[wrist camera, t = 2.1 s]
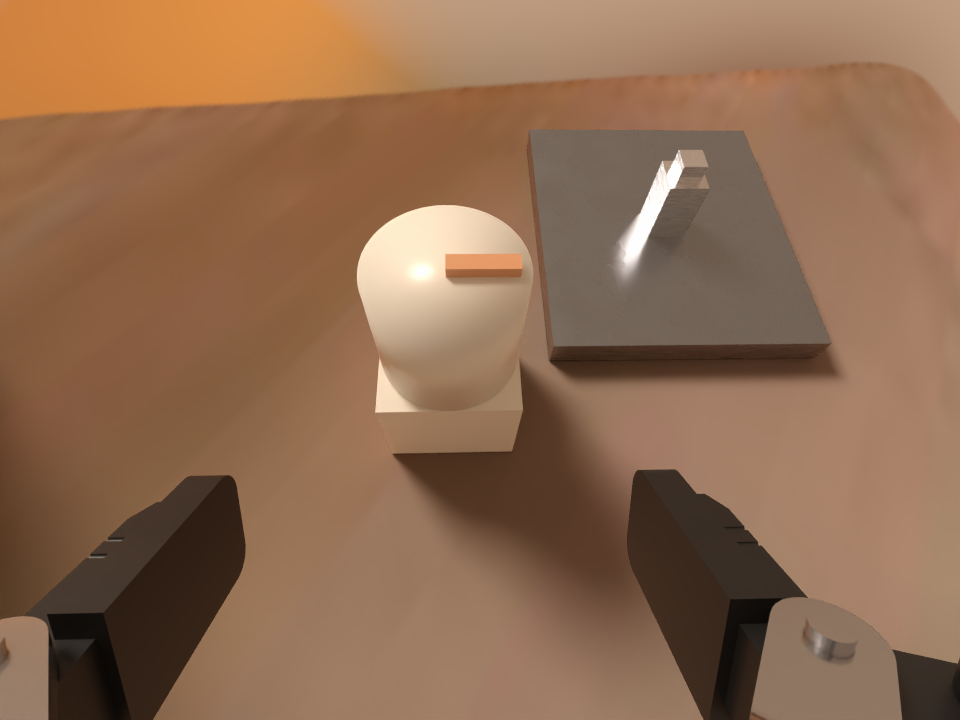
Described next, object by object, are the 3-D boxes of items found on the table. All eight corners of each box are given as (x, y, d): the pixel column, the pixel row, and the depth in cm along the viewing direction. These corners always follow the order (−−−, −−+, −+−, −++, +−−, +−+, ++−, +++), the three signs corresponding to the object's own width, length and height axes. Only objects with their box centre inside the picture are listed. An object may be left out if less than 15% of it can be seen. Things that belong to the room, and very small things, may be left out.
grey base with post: (549, 360, 26) (570, 291, 21) (526, 149, 34) (538, 59, 28) (813, 357, 27) (900, 289, 21) (732, 150, 34) (781, 62, 29)
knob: (392, 453, 23) (346, 339, 14) (397, 348, 26) (362, 196, 17) (511, 451, 24) (542, 337, 14) (505, 347, 26) (528, 196, 17)
